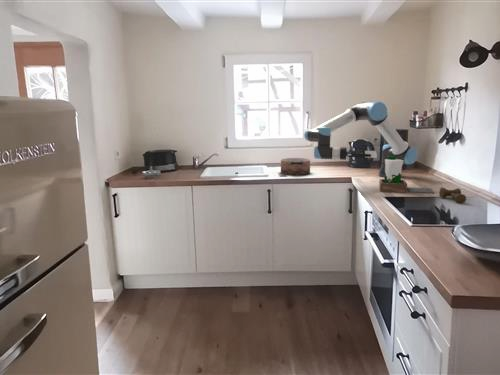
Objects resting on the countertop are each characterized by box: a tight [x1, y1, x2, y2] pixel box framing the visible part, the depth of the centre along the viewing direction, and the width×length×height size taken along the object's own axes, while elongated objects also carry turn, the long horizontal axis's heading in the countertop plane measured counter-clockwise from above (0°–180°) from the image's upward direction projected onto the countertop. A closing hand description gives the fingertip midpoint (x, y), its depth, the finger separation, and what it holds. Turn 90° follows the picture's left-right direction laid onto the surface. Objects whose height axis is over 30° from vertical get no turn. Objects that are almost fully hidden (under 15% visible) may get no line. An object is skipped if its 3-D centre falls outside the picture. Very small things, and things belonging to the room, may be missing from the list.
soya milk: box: [384, 156, 404, 183], centre depth 228 cm, size 9×9×20 cm
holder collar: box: [378, 178, 408, 193], centre depth 230 cm, size 14×14×5 cm
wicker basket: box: [280, 157, 311, 176], centre depth 295 cm, size 30×22×11 cm
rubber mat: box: [407, 186, 435, 195], centre depth 226 cm, size 13×13×1 cm
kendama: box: [438, 186, 467, 205], centre depth 203 cm, size 6×10×20 cm
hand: (376, 154), depth 229 cm, fingers open, 13 cm apart
